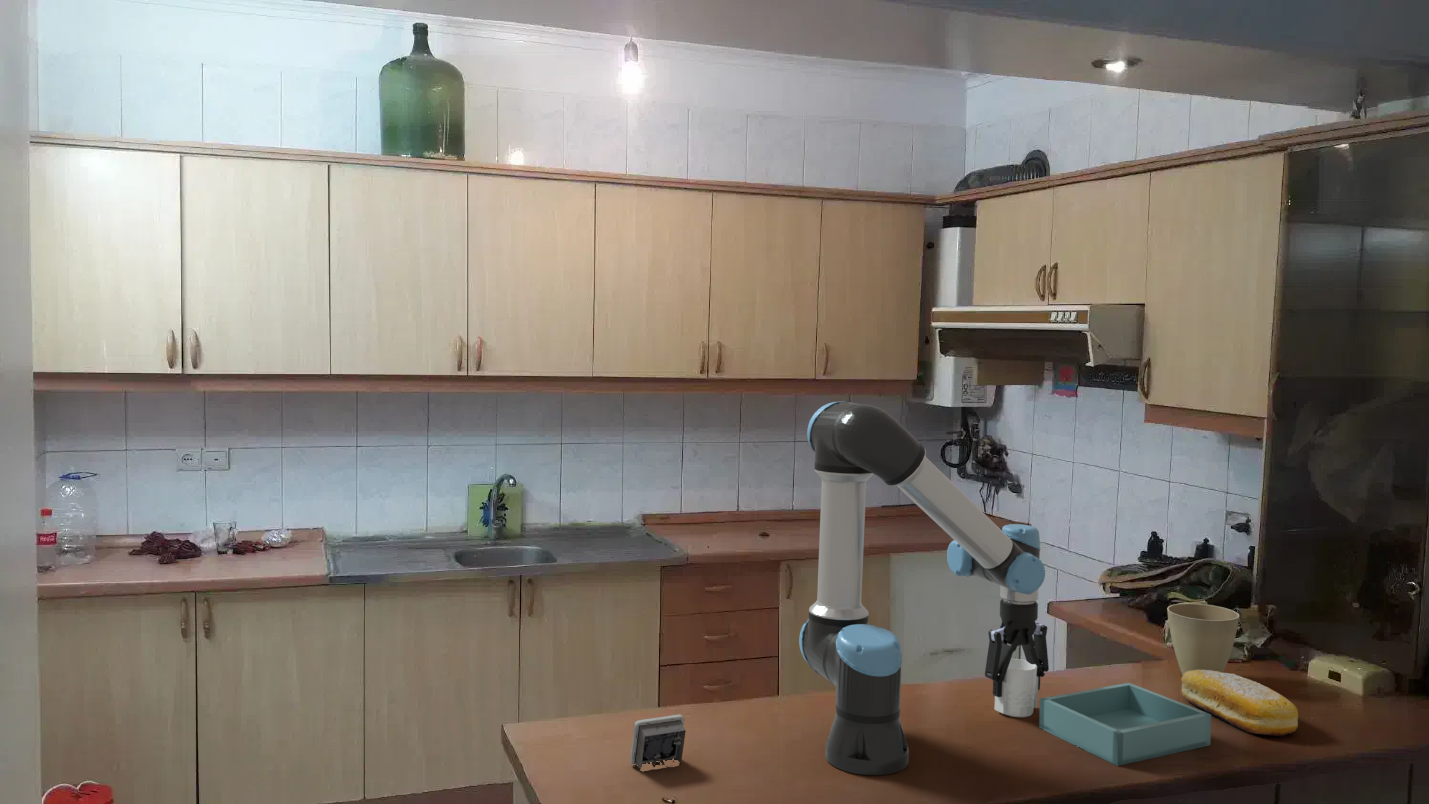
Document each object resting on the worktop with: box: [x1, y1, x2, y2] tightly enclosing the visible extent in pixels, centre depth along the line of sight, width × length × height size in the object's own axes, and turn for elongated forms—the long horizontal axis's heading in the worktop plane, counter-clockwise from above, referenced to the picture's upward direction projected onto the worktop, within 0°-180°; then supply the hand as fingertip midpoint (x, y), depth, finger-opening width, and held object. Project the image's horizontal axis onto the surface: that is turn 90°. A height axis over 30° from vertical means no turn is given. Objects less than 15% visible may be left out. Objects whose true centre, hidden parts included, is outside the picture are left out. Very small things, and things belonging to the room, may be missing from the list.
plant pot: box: [1166, 602, 1240, 676], centre depth 234 cm, size 15×15×16 cm
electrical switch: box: [629, 714, 686, 769], centre depth 183 cm, size 9×5×9 cm, turn 113°
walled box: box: [1038, 682, 1212, 767], centre depth 200 cm, size 24×20×6 cm
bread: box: [1180, 669, 1299, 737], centre depth 211 cm, size 13×26×8 cm, turn 14°
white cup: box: [998, 658, 1037, 718], centre depth 213 cm, size 8×8×10 cm
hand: (1016, 708), depth 213 cm, fingers closed on white cup, 8 cm apart
